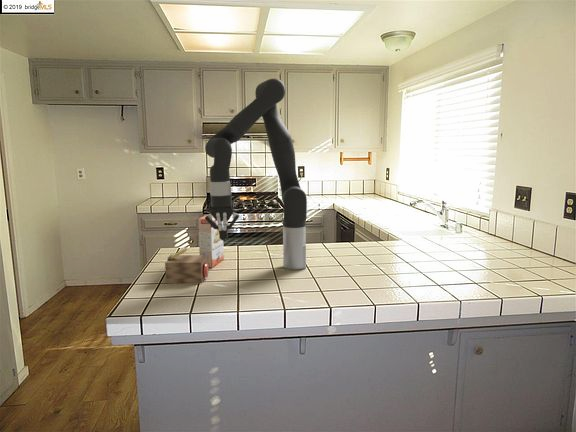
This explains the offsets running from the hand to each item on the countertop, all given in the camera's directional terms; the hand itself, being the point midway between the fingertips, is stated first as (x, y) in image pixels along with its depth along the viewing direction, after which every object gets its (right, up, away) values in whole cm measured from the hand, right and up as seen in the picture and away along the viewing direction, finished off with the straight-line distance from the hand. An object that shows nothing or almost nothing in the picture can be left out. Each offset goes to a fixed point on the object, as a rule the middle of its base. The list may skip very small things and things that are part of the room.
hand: (223, 240), depth 151 cm
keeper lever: (-17, -6, +1) cm, 18 cm away
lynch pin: (-14, -14, +3) cm, 20 cm away
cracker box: (-8, -12, +24) cm, 28 cm away
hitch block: (-14, -15, +3) cm, 21 cm away
